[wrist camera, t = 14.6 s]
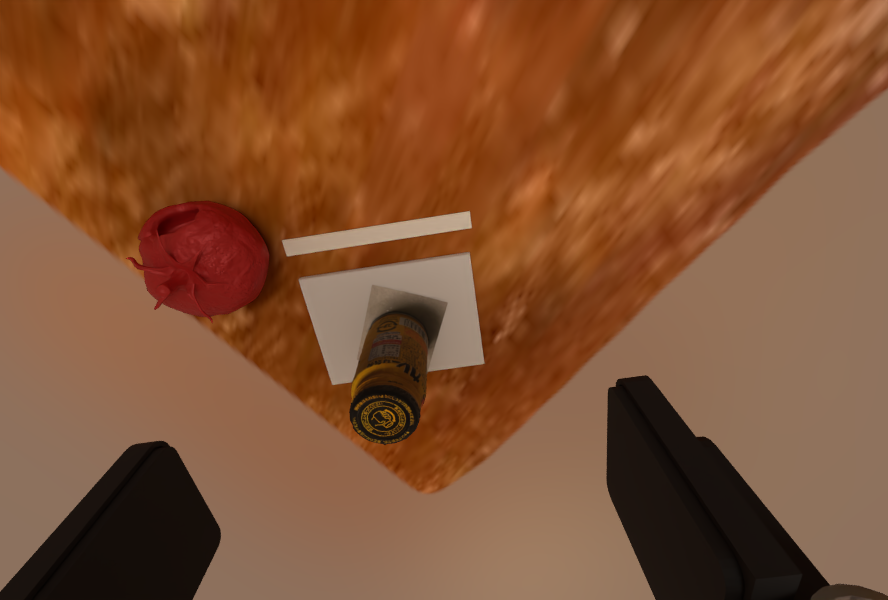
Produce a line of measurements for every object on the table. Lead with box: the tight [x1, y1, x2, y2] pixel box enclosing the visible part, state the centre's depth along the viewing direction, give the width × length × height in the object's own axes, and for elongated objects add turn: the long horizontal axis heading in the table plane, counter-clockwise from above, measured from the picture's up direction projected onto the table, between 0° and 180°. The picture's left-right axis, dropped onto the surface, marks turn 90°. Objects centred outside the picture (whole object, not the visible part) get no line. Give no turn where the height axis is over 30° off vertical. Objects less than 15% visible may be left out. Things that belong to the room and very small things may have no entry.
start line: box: [282, 211, 472, 256], centre depth 38 cm, size 2×17×1 cm, turn 99°
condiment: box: [349, 285, 448, 445], centre depth 36 cm, size 7×8×12 cm
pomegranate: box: [126, 201, 270, 323], centre depth 34 cm, size 10×10×9 cm
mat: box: [299, 252, 484, 385], centre depth 42 cm, size 12×16×1 cm
